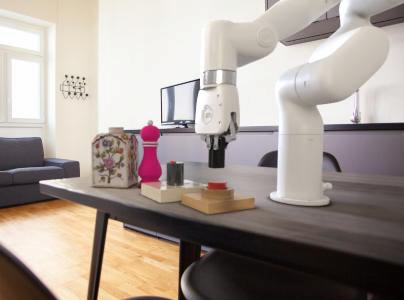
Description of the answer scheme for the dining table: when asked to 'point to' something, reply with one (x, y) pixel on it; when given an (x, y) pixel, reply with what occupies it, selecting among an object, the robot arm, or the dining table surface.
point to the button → (217, 184)
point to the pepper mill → (150, 154)
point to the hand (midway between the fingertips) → (216, 167)
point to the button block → (217, 200)
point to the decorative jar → (114, 159)
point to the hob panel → (169, 190)
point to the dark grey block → (175, 173)
